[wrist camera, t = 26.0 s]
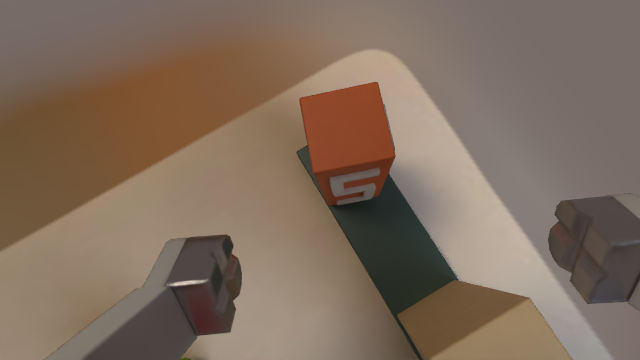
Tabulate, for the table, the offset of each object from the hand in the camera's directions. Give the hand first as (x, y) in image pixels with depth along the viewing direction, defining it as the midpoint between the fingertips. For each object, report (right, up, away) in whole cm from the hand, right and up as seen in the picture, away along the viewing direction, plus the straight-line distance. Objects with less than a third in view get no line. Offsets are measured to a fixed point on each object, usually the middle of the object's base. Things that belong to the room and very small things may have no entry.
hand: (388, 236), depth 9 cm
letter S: (0, +2, +11) cm, 11 cm away
